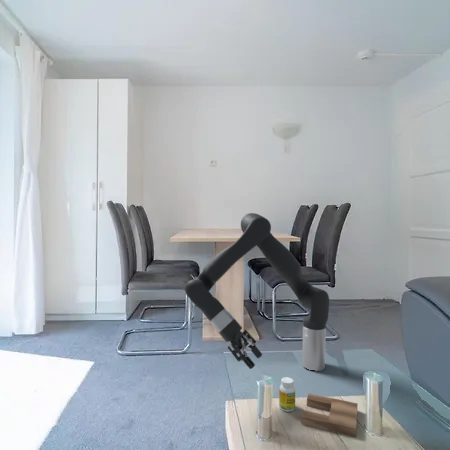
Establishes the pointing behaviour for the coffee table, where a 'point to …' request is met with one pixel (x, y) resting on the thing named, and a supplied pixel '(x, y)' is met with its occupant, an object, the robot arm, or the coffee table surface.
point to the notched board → (331, 415)
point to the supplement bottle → (287, 395)
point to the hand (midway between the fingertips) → (256, 361)
